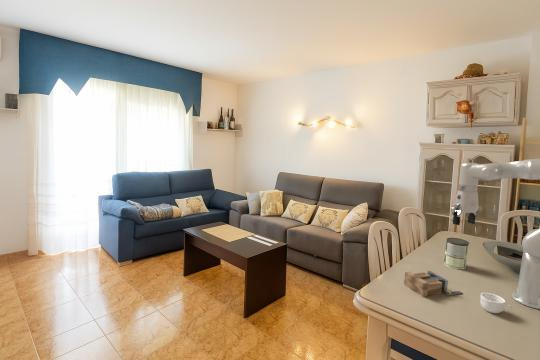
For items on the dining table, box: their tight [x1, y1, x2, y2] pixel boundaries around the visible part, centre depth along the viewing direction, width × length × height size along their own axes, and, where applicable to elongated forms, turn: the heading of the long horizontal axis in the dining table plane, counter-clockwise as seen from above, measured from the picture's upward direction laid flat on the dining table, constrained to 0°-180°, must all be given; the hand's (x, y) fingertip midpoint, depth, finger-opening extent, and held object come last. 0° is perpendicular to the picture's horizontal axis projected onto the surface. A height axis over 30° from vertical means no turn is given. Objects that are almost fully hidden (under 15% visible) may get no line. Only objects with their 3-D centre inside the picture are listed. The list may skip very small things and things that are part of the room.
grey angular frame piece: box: [423, 270, 452, 293], centre depth 131 cm, size 12×10×5 cm
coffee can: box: [443, 237, 470, 270], centre depth 158 cm, size 10×10×14 cm
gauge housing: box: [403, 271, 463, 298], centre depth 131 cm, size 13×20×6 cm, turn 106°
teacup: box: [479, 292, 513, 314], centre depth 115 cm, size 10×8×5 cm
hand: (463, 223), depth 140 cm, fingers open, 9 cm apart
